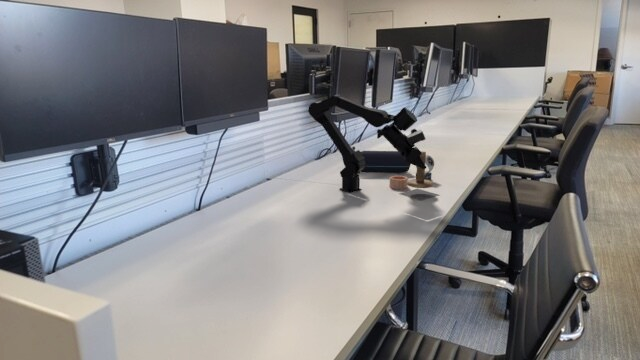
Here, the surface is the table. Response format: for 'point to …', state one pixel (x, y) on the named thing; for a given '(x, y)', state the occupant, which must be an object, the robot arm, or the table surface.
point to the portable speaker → (384, 162)
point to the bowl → (398, 182)
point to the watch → (430, 164)
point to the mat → (419, 194)
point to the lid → (420, 177)
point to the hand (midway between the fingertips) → (424, 167)
